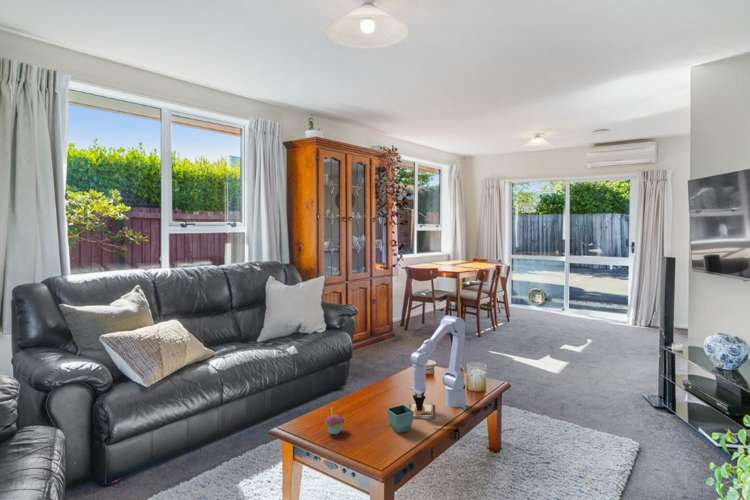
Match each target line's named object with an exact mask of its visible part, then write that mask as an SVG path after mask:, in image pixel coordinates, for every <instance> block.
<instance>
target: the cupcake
mask: <svg viewBox="0 0 750 500" xmlns="http://www.w3.org/2000/svg"><path fill="white" fill-rule="evenodd" d="M344 425H345V419H344V417H343V416H341V415H339V414H334V411H333V407H330V415H329V416H327V417H326V418H325V419H324V426H325V427H326V428H327V429H328V430H327V431H328V434H330V435H333V434H335V435H339V434H340V433H341V431H342V428H343V426H344ZM338 433H339V434H338Z"/></svg>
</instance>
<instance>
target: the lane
mask: <svg viewBox="0 0 750 500" xmlns="http://www.w3.org/2000/svg"><path fill="white" fill-rule="evenodd" d="M415 405H416V403H410V405H409V409H411V410H412V411H414V407H415ZM423 406H424V407H425V412H431V403H430V404H427V403H423ZM414 412H415V411H414Z"/></svg>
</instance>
